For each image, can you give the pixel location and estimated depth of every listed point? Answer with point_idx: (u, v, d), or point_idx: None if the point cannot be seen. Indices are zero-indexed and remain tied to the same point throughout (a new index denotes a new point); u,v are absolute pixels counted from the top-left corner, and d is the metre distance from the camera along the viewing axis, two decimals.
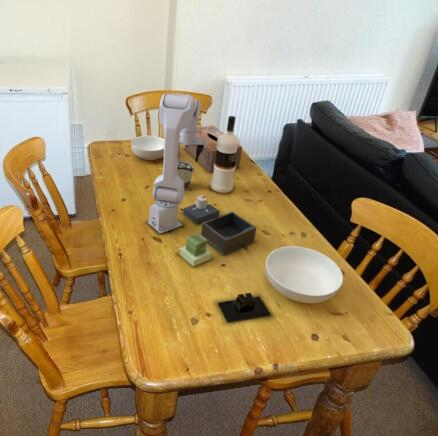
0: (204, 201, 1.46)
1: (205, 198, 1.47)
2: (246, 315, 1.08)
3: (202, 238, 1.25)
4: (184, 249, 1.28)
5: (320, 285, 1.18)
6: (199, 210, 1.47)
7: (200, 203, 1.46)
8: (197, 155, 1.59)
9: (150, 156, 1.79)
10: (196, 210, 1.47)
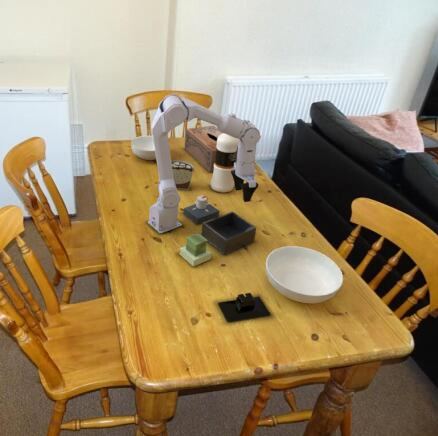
0: (204, 201, 1.46)
1: (205, 198, 1.47)
2: (246, 315, 1.08)
3: (202, 238, 1.25)
4: (184, 249, 1.28)
5: (320, 285, 1.18)
6: (199, 210, 1.47)
7: (200, 203, 1.46)
8: (243, 193, 1.35)
9: (150, 156, 1.79)
10: (196, 210, 1.47)
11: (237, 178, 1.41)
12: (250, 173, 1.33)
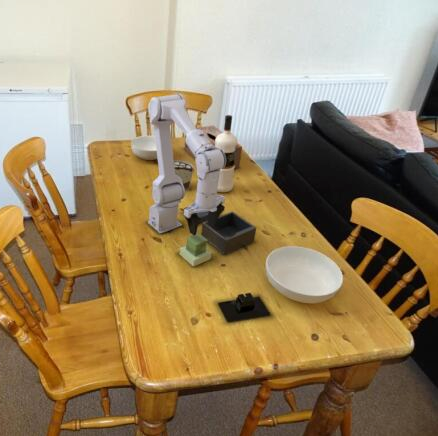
0: None
1: None
2: (246, 315, 1.08)
3: (202, 238, 1.25)
4: (184, 249, 1.28)
5: (320, 285, 1.18)
6: None
7: None
8: None
9: (150, 156, 1.79)
10: None
11: (210, 210, 1.23)
12: (200, 205, 1.16)
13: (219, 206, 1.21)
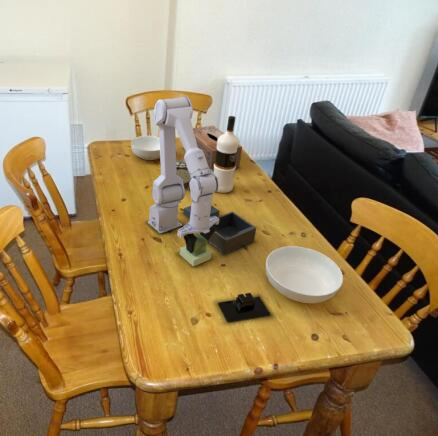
0: None
1: None
2: (246, 315, 1.08)
3: (202, 238, 1.25)
4: (184, 249, 1.28)
5: (320, 285, 1.18)
6: None
7: None
8: None
9: (150, 156, 1.79)
10: None
11: (201, 232, 1.26)
12: (193, 226, 1.20)
13: None
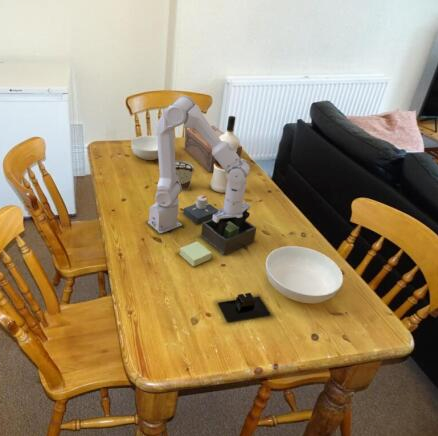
0: (204, 201, 1.46)
1: (205, 198, 1.47)
2: (246, 315, 1.08)
3: (234, 226, 1.34)
4: (184, 249, 1.28)
5: (320, 285, 1.18)
6: (199, 210, 1.47)
7: (200, 203, 1.46)
8: None
9: (150, 156, 1.79)
10: (196, 210, 1.47)
11: None
12: (227, 211, 1.28)
13: (244, 213, 1.33)
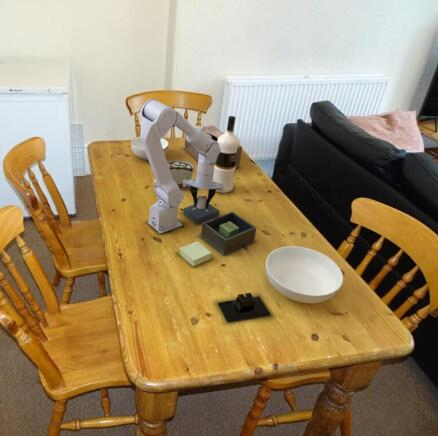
0: (204, 201, 1.46)
1: (205, 198, 1.47)
2: (246, 315, 1.08)
3: (234, 226, 1.34)
4: (184, 249, 1.28)
5: (320, 285, 1.18)
6: (199, 210, 1.47)
7: (200, 203, 1.46)
8: (208, 200, 1.45)
9: None
10: (196, 210, 1.47)
11: (196, 194, 1.46)
12: None
13: None
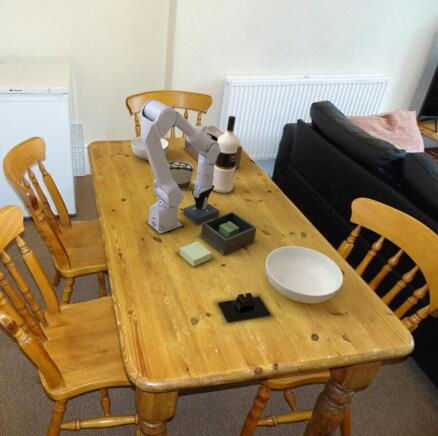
0: None
1: None
2: (246, 315, 1.08)
3: (234, 226, 1.34)
4: (184, 249, 1.28)
5: (320, 285, 1.18)
6: (199, 210, 1.47)
7: (205, 203, 1.47)
8: None
9: None
10: (196, 210, 1.47)
11: None
12: None
13: None
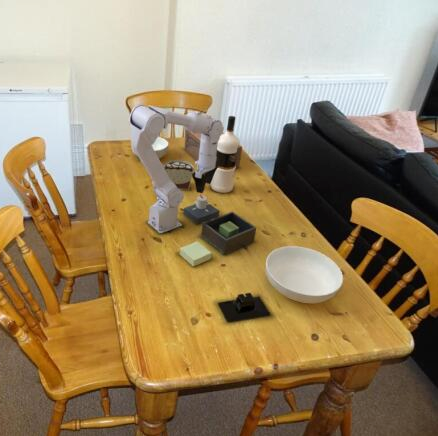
0: None
1: (203, 196, 1.48)
2: (246, 315, 1.08)
3: (234, 226, 1.34)
4: (184, 249, 1.28)
5: (320, 285, 1.18)
6: (199, 210, 1.47)
7: (205, 203, 1.47)
8: (213, 174, 1.45)
9: None
10: (196, 210, 1.47)
11: None
12: None
13: None
